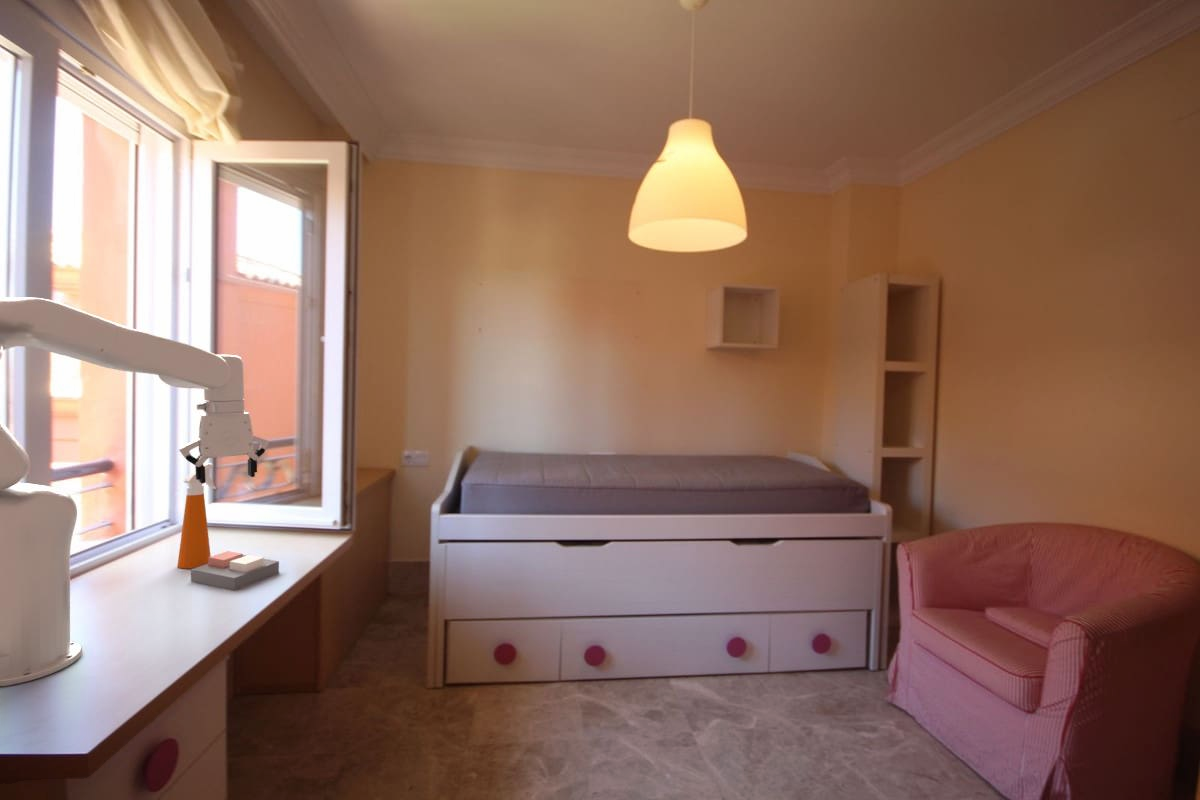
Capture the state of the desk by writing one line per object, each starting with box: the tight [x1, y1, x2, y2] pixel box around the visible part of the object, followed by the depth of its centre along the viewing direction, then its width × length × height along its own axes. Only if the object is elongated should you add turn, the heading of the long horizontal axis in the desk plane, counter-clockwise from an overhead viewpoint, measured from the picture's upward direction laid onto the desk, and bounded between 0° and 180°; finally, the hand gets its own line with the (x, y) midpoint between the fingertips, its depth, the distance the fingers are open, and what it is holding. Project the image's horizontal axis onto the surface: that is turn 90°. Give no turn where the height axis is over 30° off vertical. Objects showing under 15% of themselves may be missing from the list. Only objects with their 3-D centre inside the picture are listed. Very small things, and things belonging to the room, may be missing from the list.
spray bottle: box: [177, 462, 217, 570], centre depth 138 cm, size 7×11×26 cm, turn 2°
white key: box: [230, 554, 265, 573], centre depth 128 cm, size 5×5×2 cm
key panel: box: [190, 554, 280, 591], centre depth 129 cm, size 12×14×3 cm
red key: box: [208, 550, 244, 569], centre depth 130 cm, size 5×5×2 cm
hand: (227, 479), depth 122 cm, fingers open, 9 cm apart
